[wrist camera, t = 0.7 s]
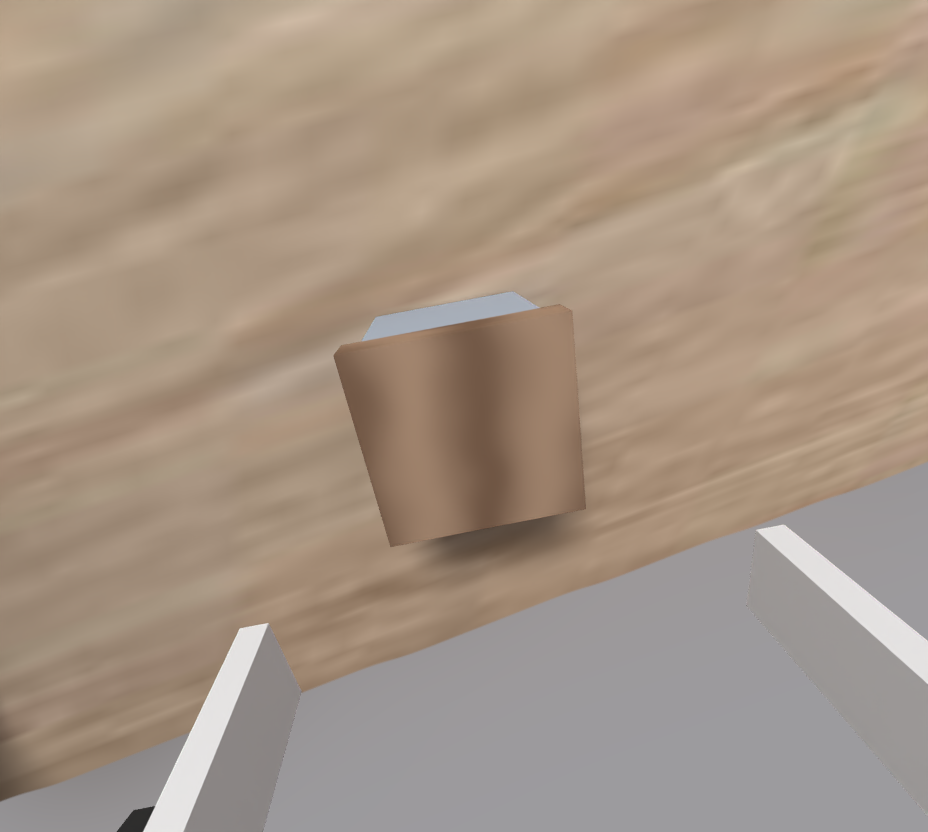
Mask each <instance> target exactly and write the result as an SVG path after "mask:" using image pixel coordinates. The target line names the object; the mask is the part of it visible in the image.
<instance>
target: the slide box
mask: <svg viewBox="0 0 928 832" xmlns="http://www.w3.org/2000/svg"><path fill="white" fill-rule="evenodd" d="M537 308H539V307H537V306H536V305H534V304H533V303H531V302H529V301H528V300H526V299H525V298H523V297H521V296H520V295H518V294H517V293H515V292H513V291H512V292H507V293H501V294H496V295H491V296H485V297H480V298H475V299H469V300H464V301H459V302H453V303H448V304H443V305H437V306H432V307H427V308H421V309H416V310H411V311H405V312H400V313H395V314H389V315H384V316H379V317H376V318H375V319H374V321H373V323H372V324H371V326H370V328H369V329H368V331H367V333H366V334H365V336H364V338H363V339H362V341H367V340H372V339H378V338H383V337H388V336H394V335H399V334H404V333H410V332H415V331H420V330H426V329H431V328H436V327H442V326H447V325H452V324H457V323H463V322H468V321H473V320H479V319H484V318H489V317H495V316H500V315H505V314H511V313H516V312H521V311H527V310H532V309H537ZM362 341H361V342H362Z"/></svg>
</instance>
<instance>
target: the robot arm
mask: <svg viewBox="0 0 928 832" xmlns="http://www.w3.org/2000/svg"><path fill="white" fill-rule="evenodd" d="M746 606H747V607H748V608H749V609H750V611H751V612H752V613H753V614H754V615H755V616H756V618H757V619H758V620H759V621H760V622H761V623H762V624H763V626H764V627H765V628H766V629H767V630H768V631H769V633H770V634H771V635H772V636H773V637H774V638H775V639H776V641H777V642H778V643H779V644H780V645H781V647H782V648H783V649H784V650H785V651H786V652H787V654H788V655H789V656H790V657H791V658H792V659H793V660H794V662H795V663H796V664H797V665H798V666H799V667H800V668H801V670H802V671H803V672H804V673H805V674H806V676H807V677H808V678H809V679H810V680H811V681H812V682H813V684H814V685H815V686H816V687H817V688H818V689H819V690H820V692H821V693H822V694H823V695H824V696H825V698H826V699H827V700H828V701H829V702H830V703H831V704H832V706H833V707H834V708H835V709H836V710H837V711H838V713H839V714H840V715H841V716H842V717H843V718H844V720H845V721H846V722H847V723H848V724H849V725H850V727H851V728H852V729H853V730H854V731H855V732H856V733H857V735H858V736H859V737H860V738H861V739H862V741H864V743H865V744H866V745H867V746H868V747H869V749H870V750H871V751H872V752H873V753H874V754H875V756H876V757H877V758H878V759H879V760H880V761H881V763H882V764H883V765H884V766H885V767H886V768H887V769H888V771H889V772H890V773H891V774H892V775H893V776H894V778H895V779H896V780H897V781H898V782H899V783H900V785H901V786H902V787H903V788H904V789H905V790H906V791H907V793H908V794H909V795H910V796H911V797H912V798H913V800H914V801H915V802H916V803H917V804H918V805H919V807H920V808H921V809H922V810H923V811H924V812H925V813H926V814H927V816H928V641H927V640H926V639H925V638H923V637H922V636H921V635H920V634H918V633H917V632H916V631H915V630H913V629H912V628H911V627H910V626H908V625H907V624H906V623H905V622H904V621H902V620H901V619H900V618H899V617H897V616H896V615H895V614H894V613H892V612H891V611H890V610H889V609H888V608H886V607H885V606H884V605H883V604H881V603H880V602H879V601H878V600H876V599H875V598H874V597H873V596H871V595H870V594H869V593H868V592H867V591H865V590H864V589H863V588H862V587H860V586H859V585H858V584H856V583H855V582H854V581H853V580H852V579H850V578H849V577H848V576H847V575H846V574H844V573H843V572H842V571H841V570H839V569H838V568H837V567H836V566H834V565H833V564H832V563H831V562H829V561H828V560H827V559H826V558H825V557H823V556H822V555H821V554H820V553H818V552H817V551H816V550H815V549H813V548H812V547H811V546H810V545H808V544H807V543H806V542H805V541H804V540H802V539H801V538H800V537H799V536H797V535H796V534H795V533H794V532H793V531H791V530H790V529H789V528H788V527H786V526H785V525H780V526H775V527H769V528H764V529H759V530H756V533H755V541H754V549H753V557H752V565H751V573H750V582H749V589H748V597H747V605H746ZM301 692H302V691H301V689H300V687H299V685H298V683H297V681H296V679H295V677H294V675H293V673H292V671H291V668H290V666H289V664H288V662H287V660H286V658H285V656H284V654H283V652H282V650H281V648H280V646H279V644H278V642H277V640H276V637H275V635H274V633H273V631H272V629H271V627H270V625H269V623H266V624H261V625H256V626H251V627H246V628H240V629H239V631H238V634H237V636H236V638H235V640H234V642H233V644H232V646H231V648H230V650H229V652H228V655H227V657H226V659H225V661H224V663H223V665H222V667H221V669H220V671H219V673H218V676H217V678H216V680H215V682H214V684H213V686H212V688H211V690H210V692H209V695H208V697H207V699H206V701H205V703H204V705H203V707H202V709H201V711H200V713H199V716H198V718H197V720H196V722H195V724H194V726H193V728H192V730H191V732H190V734H189V737H188V739H187V741H186V743H185V745H184V747H183V749H182V751H181V753H180V756H179V758H178V760H177V762H176V764H175V766H174V768H173V770H172V772H171V775H170V777H169V779H168V781H167V783H166V785H165V787H164V789H163V791H162V793H161V796H160V798H159V800H158V802H157V804H156V806H153V807H148V808H143V809H138V810H134V811H133V812H132V813H131V814H130V815H129V817H128V818H127V819H126V821H125V822H124V823H123V824H122V826H121V827H120V828H119V829H118V831H117V832H263V830H264V826H265V823H266V819H267V815H268V812H269V808H270V804H271V801H272V797H273V793H274V790H275V786H276V783H277V779H278V775H279V771H280V768H281V764H282V761H283V757H284V753H285V750H286V746H287V743H288V739H289V735H290V732H291V728H292V724H293V721H294V717H295V713H296V710H297V706H298V703H299V699H300V695H301Z"/></svg>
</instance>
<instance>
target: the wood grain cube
mask: <svg viewBox="0 0 928 832" xmlns="http://www.w3.org/2000/svg"><path fill="white" fill-rule="evenodd" d="M334 359H335V363H336V366H337V369H338V373H339V376H340V379H341V383H342V386H343V389H344V393H345V396H346V400H347V403H348V406H349V410H350V413H351V416H352V420H353V423H354V426H355V430H356V433H357V436H358V440H359V443H360V446H361V450H362V453H363V456H364V460H365V463H366V466H367V470H368V473H369V476H370V480H371V483H372V486H373V490H374V493H375V496H376V500H377V503H378V506H379V510H380V513H381V517H382V520H383V523H384V527H385V530H386V533H387V537H388V540H389V543H390V547H393V546H398V545H404V544H409V543H414V542H419V541H424V540H429V539H434V538H440V537H445V536H450V535H455V534H460V533H465V532H470V531H476V530H481V529H486V528H491V527H496V526H501V525H506V524H512V523H517V522H522V521H527V520H532V519H537V518H542V517H548V516H553V515H558V514H563V513H568V512H573V511H578V510H584V509H586V504H585V490H584V475H583V461H582V446H581V432H580V417H579V402H578V388H577V373H576V359H575V344H574V330H573V315H572V310H570V309H568V308H566V307H564V306H562V305H560V304H558V305H553V306H548V307H542V308H537V309H532V310H527V311H521V312H516V313H511V314H505V315H500V316H495V317H489V318H484V319H479V320H473V321H468V322H463V323H457V324H452V325H447V326H442V327H436V328H431V329H426V330H420V331H415V332H410V333H404V334H399V335H394V336H388V337H383V338H378V339H372V340H367V341H362V342H356V343H351V344H346V345H341V346H340V348H339V349H338V350H337V352H336V353H335V354H334Z"/></svg>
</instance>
